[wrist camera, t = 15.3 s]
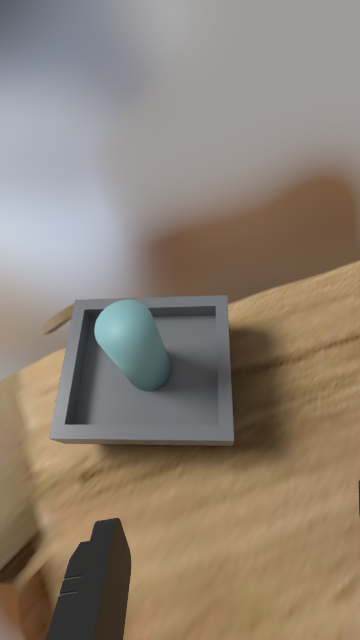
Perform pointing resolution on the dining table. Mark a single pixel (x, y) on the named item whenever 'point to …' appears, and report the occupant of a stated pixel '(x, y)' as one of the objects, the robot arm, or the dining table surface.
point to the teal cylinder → (134, 343)
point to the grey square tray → (158, 405)
